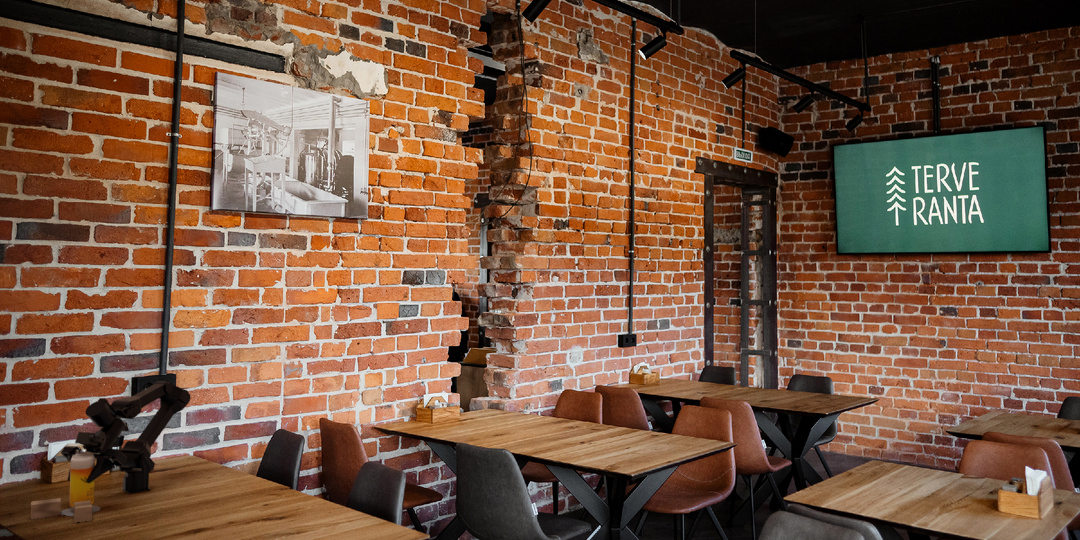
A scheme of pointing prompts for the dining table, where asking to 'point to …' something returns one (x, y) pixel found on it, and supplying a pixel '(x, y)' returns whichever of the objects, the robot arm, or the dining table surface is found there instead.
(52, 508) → the beam vee
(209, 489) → the dining table surface
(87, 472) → the beer can
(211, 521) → the dining table surface
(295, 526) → the dining table surface
